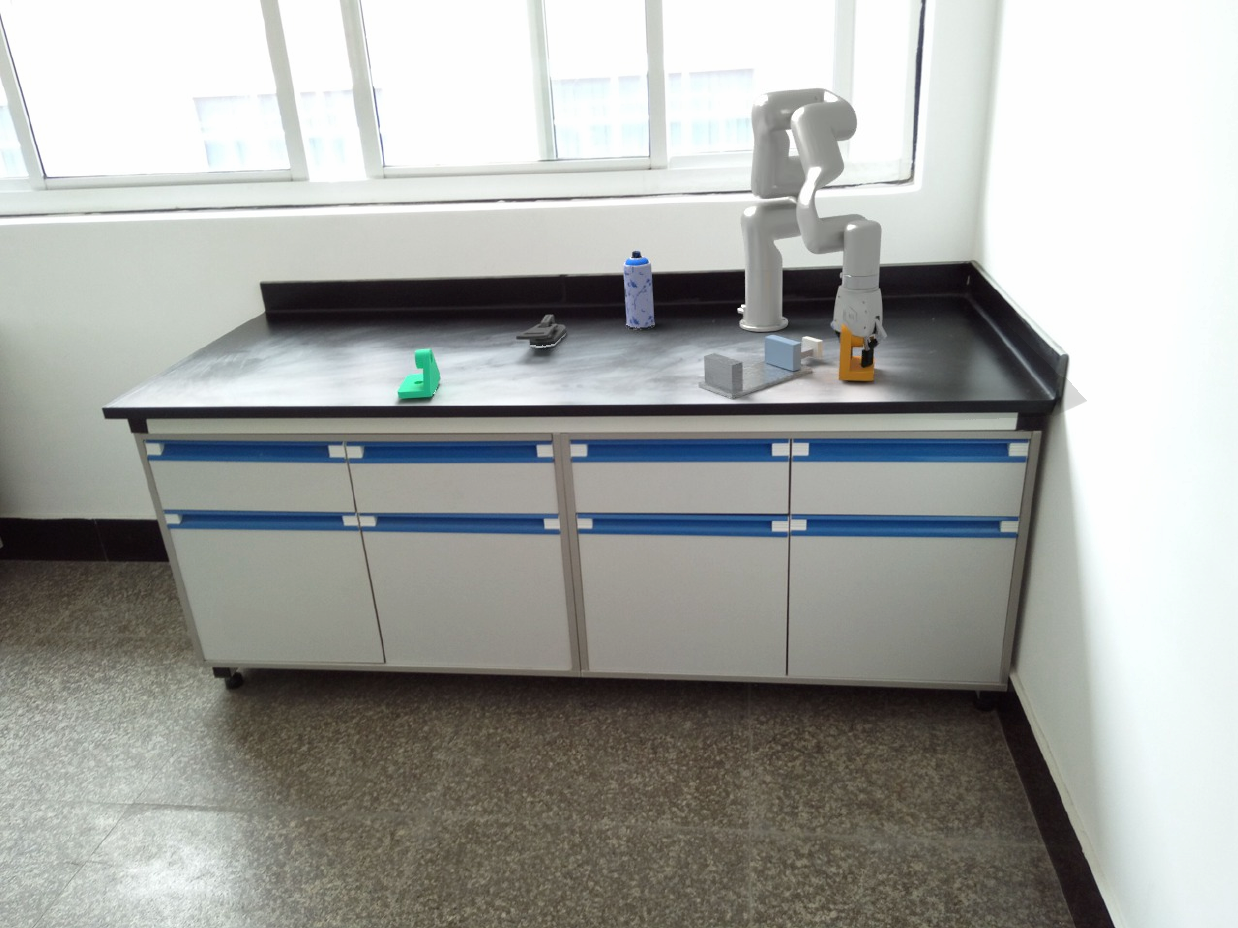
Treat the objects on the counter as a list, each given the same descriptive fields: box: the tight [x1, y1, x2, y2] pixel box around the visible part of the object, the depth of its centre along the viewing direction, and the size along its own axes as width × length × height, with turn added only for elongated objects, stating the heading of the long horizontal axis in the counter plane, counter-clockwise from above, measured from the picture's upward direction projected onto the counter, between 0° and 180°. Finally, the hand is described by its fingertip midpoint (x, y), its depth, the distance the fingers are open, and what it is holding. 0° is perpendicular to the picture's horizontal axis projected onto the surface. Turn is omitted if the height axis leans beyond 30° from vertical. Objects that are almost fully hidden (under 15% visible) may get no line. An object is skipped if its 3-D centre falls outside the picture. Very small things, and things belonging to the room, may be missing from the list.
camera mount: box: [397, 348, 441, 399], centre depth 207 cm, size 12×8×10 cm, turn 0°
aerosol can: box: [622, 250, 656, 328], centre depth 243 cm, size 8×8×20 cm
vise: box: [698, 352, 813, 399], centre depth 201 cm, size 11×24×7 cm, turn 125°
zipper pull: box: [515, 314, 567, 346], centre depth 235 cm, size 9×7×25 cm
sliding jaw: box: [764, 334, 824, 371], centre depth 207 cm, size 9×12×6 cm
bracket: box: [838, 324, 876, 382], centre depth 198 cm, size 11×7×12 cm, turn 164°
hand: (856, 362), depth 199 cm, fingers closed on bracket, 5 cm apart
